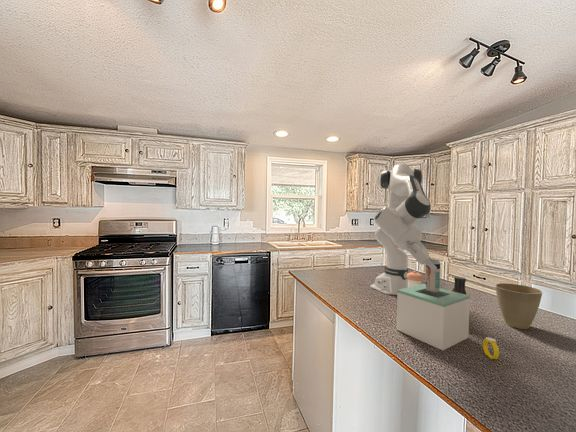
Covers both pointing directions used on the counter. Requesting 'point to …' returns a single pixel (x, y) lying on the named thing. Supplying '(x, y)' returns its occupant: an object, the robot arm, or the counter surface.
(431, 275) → the beer can
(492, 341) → the watch
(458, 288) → the sauce bottle
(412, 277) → the pepper shaker
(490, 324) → the counter surface
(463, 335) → the recycling bin
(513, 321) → the plant pot
